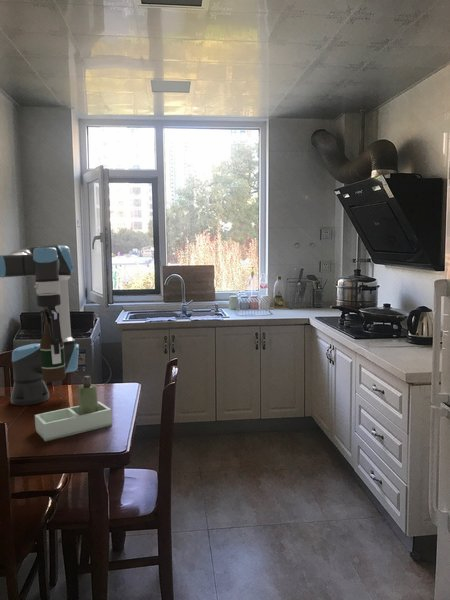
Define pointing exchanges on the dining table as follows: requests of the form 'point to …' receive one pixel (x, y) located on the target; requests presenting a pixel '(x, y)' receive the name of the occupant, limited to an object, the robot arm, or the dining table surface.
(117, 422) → the dining table surface
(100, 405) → the caddy
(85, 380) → the olive bottle
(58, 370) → the beer bottle
